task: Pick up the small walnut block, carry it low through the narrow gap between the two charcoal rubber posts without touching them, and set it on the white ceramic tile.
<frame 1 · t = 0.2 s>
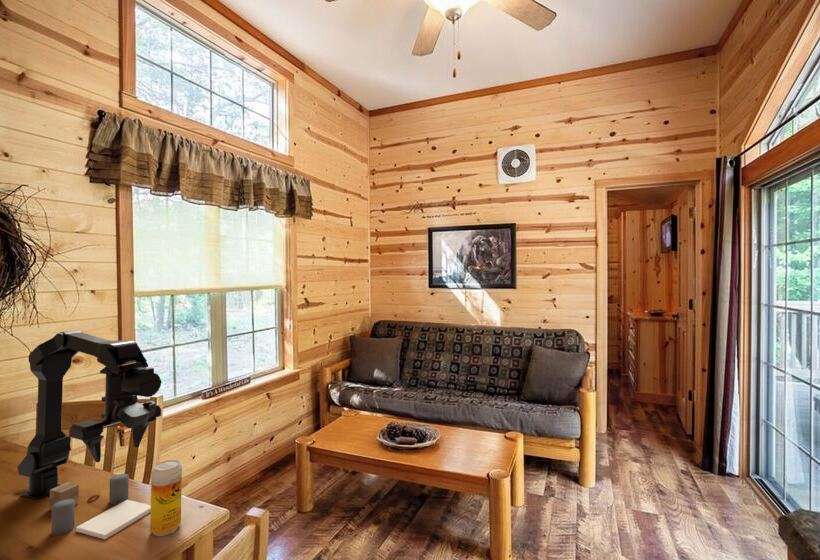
hand: (117, 454, 99), 14 cm above the table, tool pointing down, fingers open, 9 cm apart
yellow canister: (165, 530, 92), on the table
post 1: (63, 529, 91), on the table
walnut block: (64, 506, 100), on the table
ceramic tile: (116, 520, 95), on the table
post 2: (118, 500, 104), on the table
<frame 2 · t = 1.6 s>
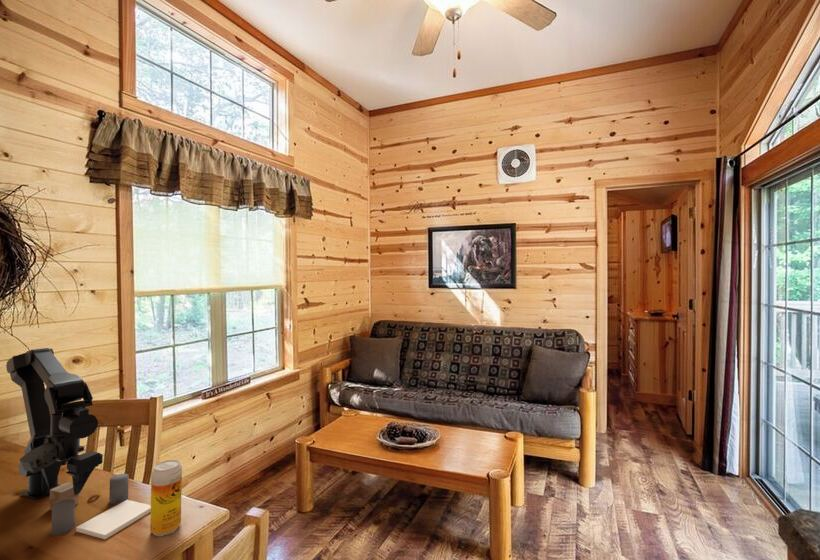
hand: (64, 490, 100), 4 cm above the table, tool pointing down, fingers open, 9 cm apart
nothing on the table moved.
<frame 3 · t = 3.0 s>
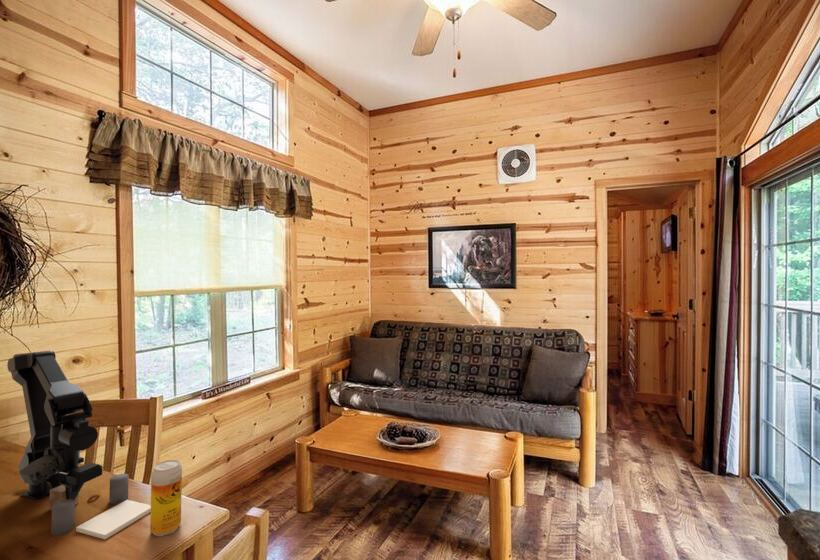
hand: (64, 502, 100), 1 cm above the table, tool pointing down, fingers closed on walnut block, 4 cm apart
walnut block: (64, 506, 100), on the table, touching gripper
everything else where it was.
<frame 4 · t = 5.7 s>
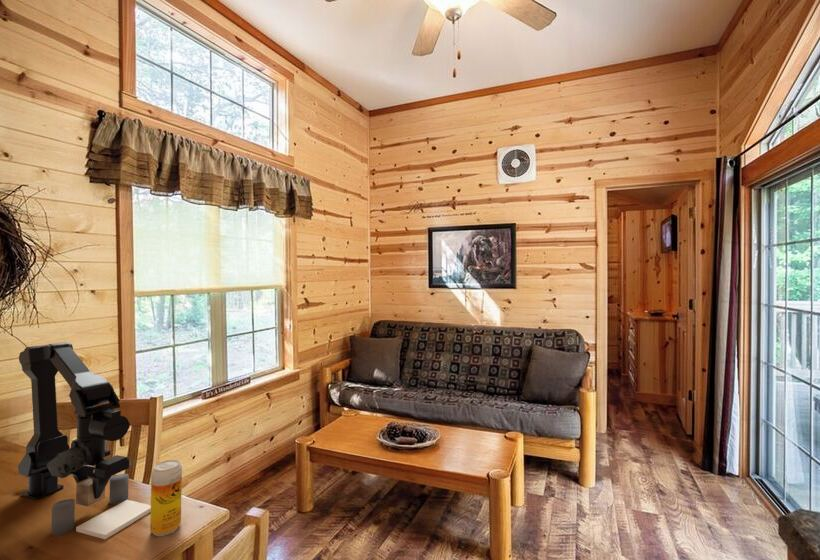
hand: (90, 496, 98), 4 cm above the table, tool pointing down, fingers closed on walnut block, 4 cm apart
walnut block: (90, 500, 98), point 3 cm above the table, touching gripper
everything else where it was.
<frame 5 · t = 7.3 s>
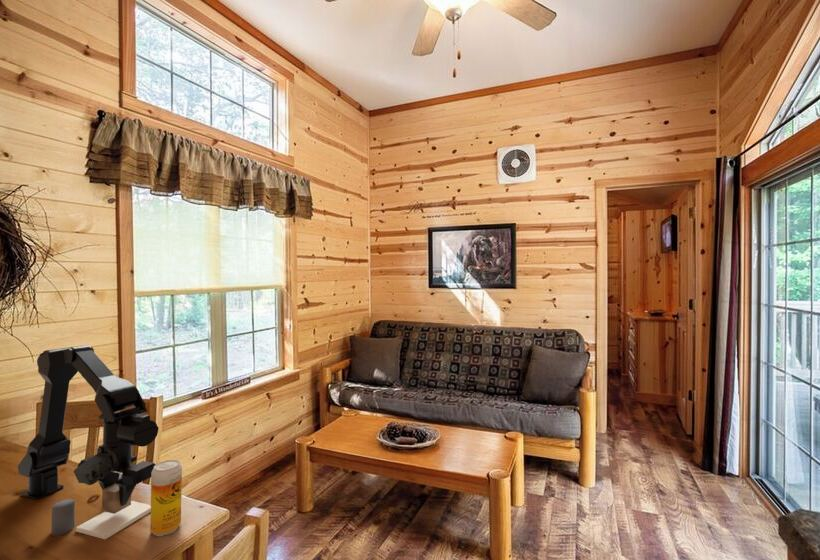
hand: (116, 503, 95), 4 cm above the table, tool pointing down, fingers closed on walnut block, 4 cm apart
walnut block: (116, 507, 95), point 3 cm above the table, touching gripper
everything else where it was.
when the fingers open (3 cm above the table, at t = 8.5 s): walnut block stays where it is, resting on ceramic tile.
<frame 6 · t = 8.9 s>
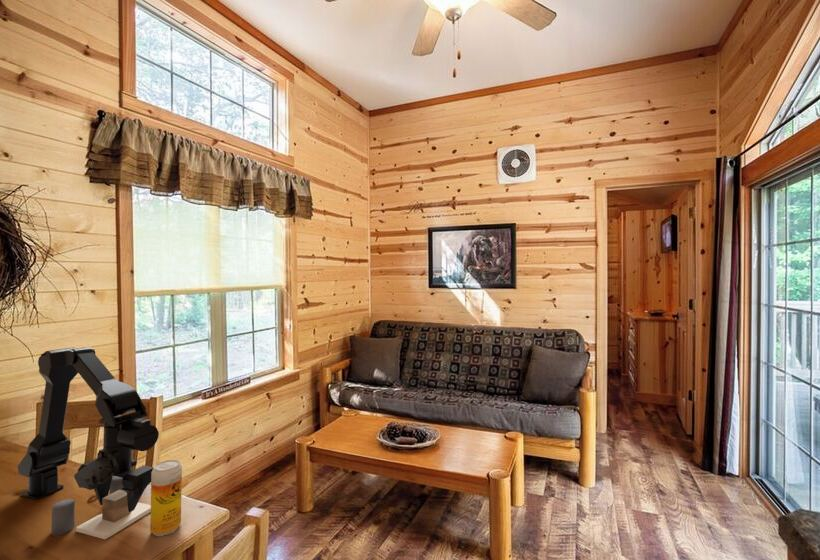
hand: (116, 507, 95), 3 cm above the table, tool pointing down, fingers open, 9 cm apart
walnut block: (116, 516, 95), point 1 cm above the table, touching ceramic tile
everything else where it was.
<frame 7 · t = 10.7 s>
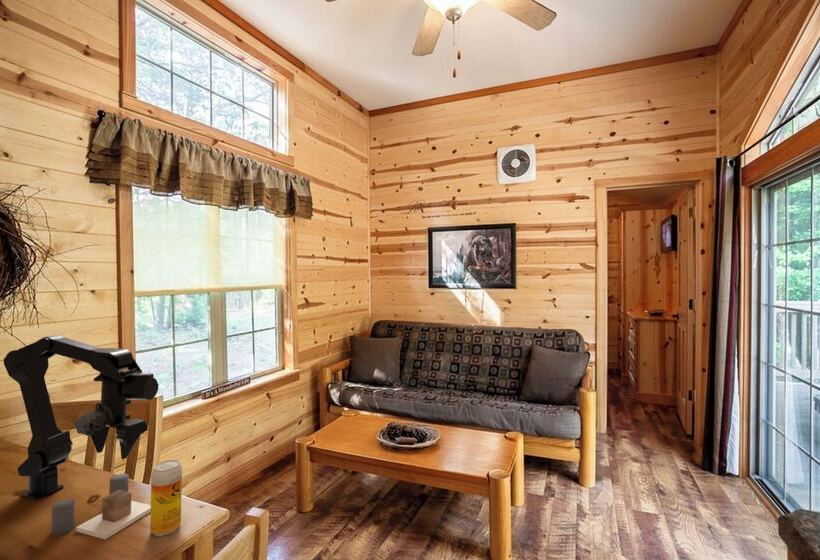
hand: (111, 455, 106), 11 cm above the table, tool pointing down, fingers open, 9 cm apart
nothing on the table moved.
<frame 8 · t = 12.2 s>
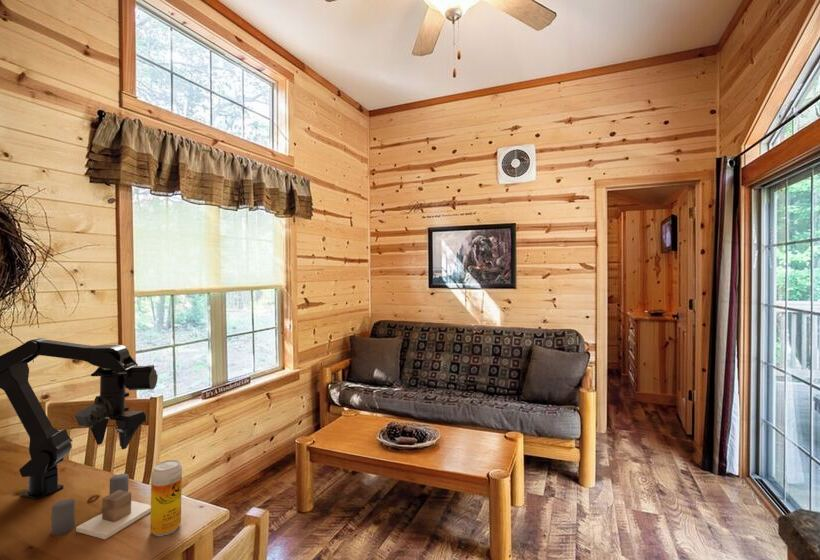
hand: (111, 446, 111), 11 cm above the table, tool pointing down, fingers open, 9 cm apart
nothing on the table moved.
at the end: walnut block inside the target area on the ceramic tile (0.0 cm from its centre), point 1.0 cm above the ceramic tile's base; post 2 moved 0.0 cm from its start; post 1 moved 0.0 cm from its start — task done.
